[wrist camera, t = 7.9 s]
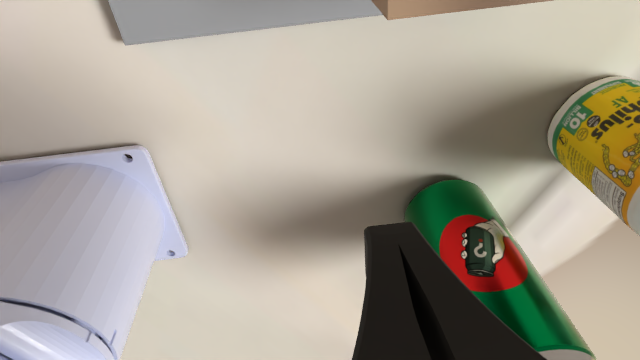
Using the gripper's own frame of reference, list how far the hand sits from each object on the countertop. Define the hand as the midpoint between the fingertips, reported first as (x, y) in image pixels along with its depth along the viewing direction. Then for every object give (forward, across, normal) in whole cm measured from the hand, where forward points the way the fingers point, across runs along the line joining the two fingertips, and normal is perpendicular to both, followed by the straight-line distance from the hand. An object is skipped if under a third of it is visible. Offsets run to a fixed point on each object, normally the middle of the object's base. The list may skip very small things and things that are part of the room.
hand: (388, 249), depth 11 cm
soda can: (+11, -6, +8) cm, 14 cm away
